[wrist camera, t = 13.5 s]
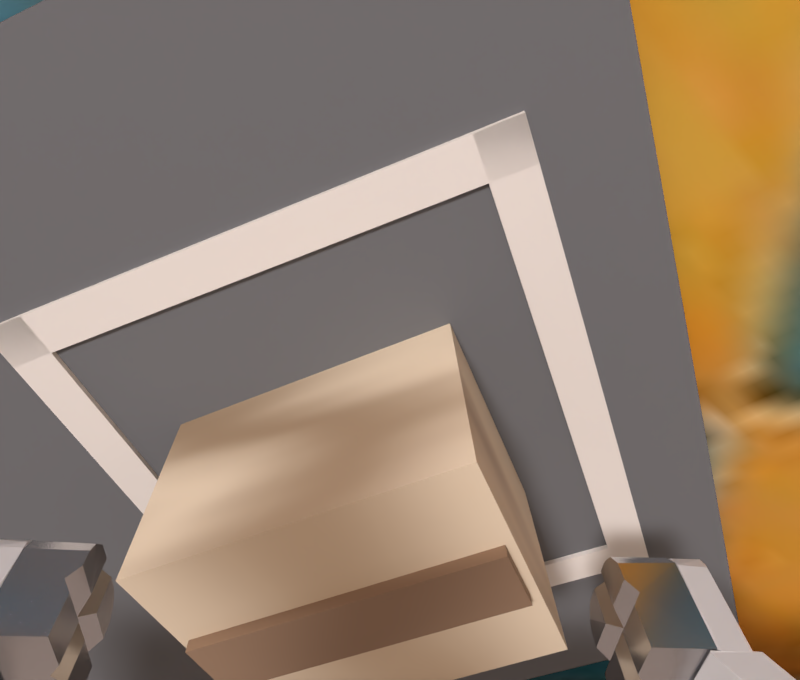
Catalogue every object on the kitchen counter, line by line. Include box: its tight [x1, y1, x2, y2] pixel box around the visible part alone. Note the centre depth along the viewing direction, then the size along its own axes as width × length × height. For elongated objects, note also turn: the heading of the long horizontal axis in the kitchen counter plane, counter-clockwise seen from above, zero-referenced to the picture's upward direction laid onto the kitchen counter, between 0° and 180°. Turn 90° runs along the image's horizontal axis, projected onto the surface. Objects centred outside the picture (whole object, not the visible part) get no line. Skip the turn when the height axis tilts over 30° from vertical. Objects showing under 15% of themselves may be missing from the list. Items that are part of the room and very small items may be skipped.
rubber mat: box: [0, 0, 739, 680], centre depth 14 cm, size 27×18×1 cm, turn 112°
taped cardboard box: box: [116, 323, 568, 680], centre depth 11 cm, size 6×4×4 cm
